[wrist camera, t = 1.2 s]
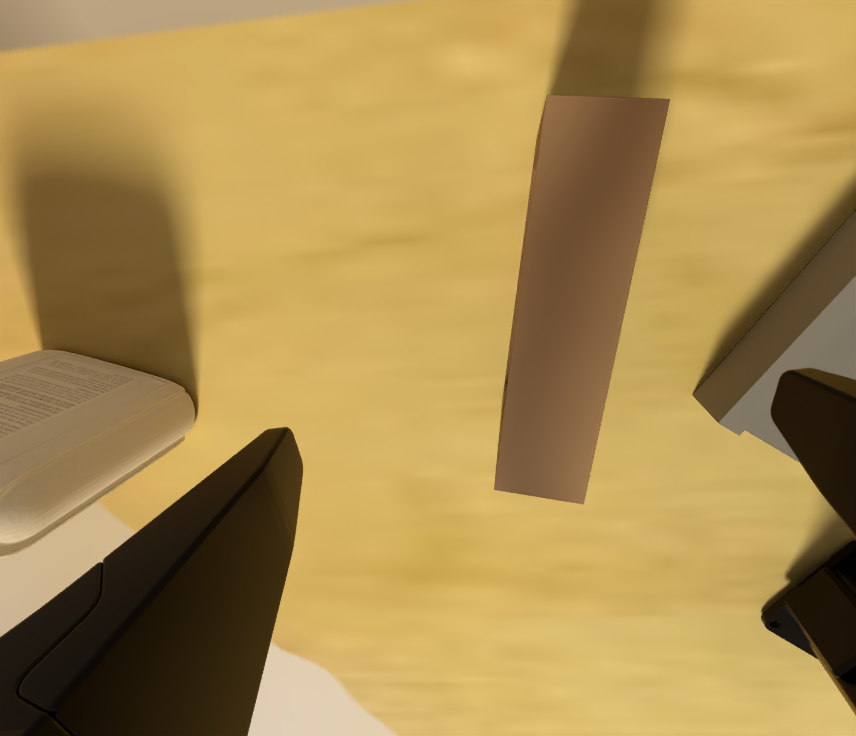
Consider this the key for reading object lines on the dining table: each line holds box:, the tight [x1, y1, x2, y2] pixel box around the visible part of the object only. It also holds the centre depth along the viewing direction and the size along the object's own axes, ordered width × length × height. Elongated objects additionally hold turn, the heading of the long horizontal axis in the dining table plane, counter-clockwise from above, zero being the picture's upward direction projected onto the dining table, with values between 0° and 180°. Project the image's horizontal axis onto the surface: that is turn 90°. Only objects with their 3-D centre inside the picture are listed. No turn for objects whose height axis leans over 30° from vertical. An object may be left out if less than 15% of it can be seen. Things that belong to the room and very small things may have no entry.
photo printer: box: [0, 350, 195, 558], centre depth 22 cm, size 10×4×12 cm, turn 79°
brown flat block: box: [494, 95, 670, 504], centre depth 17 cm, size 3×12×8 cm, turn 176°
